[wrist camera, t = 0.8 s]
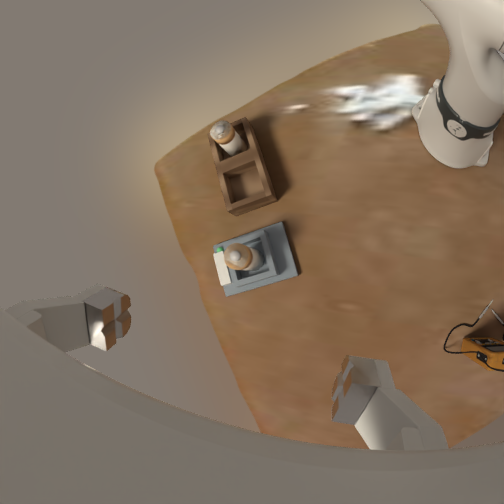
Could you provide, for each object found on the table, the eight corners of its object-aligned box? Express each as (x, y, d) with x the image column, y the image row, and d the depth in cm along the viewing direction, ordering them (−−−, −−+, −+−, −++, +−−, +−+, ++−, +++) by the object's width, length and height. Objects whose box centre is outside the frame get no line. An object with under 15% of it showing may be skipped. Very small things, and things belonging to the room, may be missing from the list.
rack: (216, 142, 59) (207, 133, 54) (252, 127, 56) (245, 116, 52) (236, 216, 55) (227, 211, 51) (277, 201, 53) (271, 194, 49)
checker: (215, 246, 56) (207, 244, 53) (282, 222, 52) (278, 218, 49) (228, 296, 54) (220, 297, 51) (298, 275, 51) (295, 275, 47)
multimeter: (509, 299, 37) (570, 305, 18) (501, 350, 36) (557, 376, 17) (450, 297, 41) (503, 305, 22) (442, 352, 41) (487, 388, 22)
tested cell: (251, 244, 53) (233, 237, 44) (268, 257, 52) (252, 253, 43) (238, 261, 53) (217, 258, 45) (254, 275, 52) (236, 275, 44)
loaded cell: (236, 137, 56) (218, 116, 48) (251, 145, 55) (234, 124, 46) (224, 152, 57) (204, 133, 48) (238, 161, 55) (220, 142, 47)
